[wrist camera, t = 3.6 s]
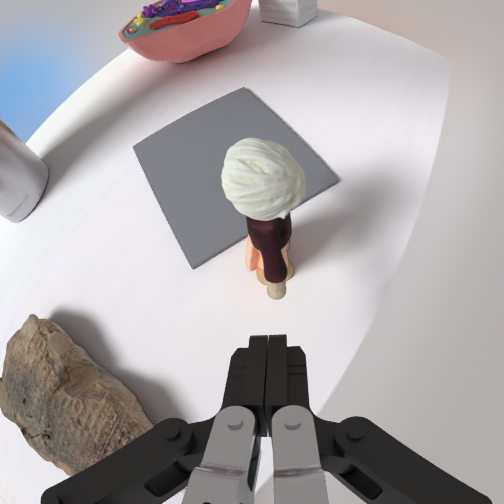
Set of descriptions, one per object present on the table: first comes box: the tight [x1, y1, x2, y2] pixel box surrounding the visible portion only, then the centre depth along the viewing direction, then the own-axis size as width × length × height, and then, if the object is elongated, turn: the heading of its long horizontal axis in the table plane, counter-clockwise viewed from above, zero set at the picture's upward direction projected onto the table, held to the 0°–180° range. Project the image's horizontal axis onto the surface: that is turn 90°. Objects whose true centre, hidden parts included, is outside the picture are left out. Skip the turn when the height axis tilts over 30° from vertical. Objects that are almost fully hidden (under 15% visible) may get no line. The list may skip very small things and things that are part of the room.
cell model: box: [119, 0, 252, 63], centre depth 29 cm, size 17×20×11 cm
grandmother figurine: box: [221, 138, 306, 300], centre depth 16 cm, size 8×4×13 cm, turn 13°
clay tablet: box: [0, 314, 154, 477], centre depth 17 cm, size 14×5×20 cm
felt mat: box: [133, 87, 338, 269], centre depth 26 cm, size 16×14×1 cm
